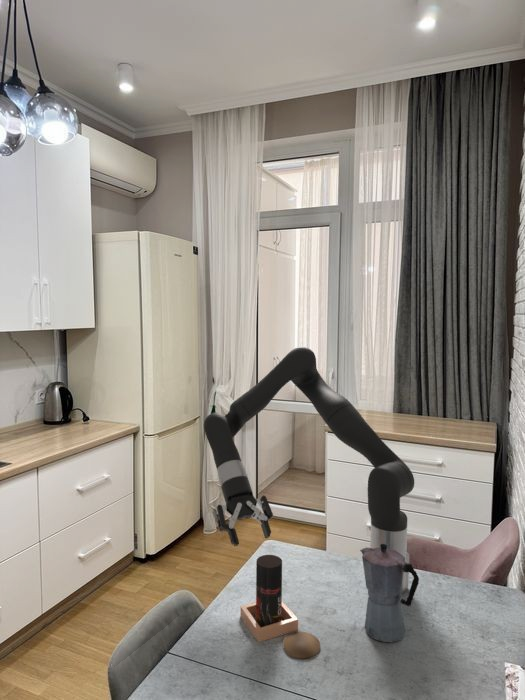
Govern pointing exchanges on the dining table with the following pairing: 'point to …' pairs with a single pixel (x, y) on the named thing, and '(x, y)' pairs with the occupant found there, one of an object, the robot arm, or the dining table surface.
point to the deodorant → (268, 590)
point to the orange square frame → (270, 630)
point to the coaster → (301, 645)
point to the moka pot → (386, 592)
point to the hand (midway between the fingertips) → (252, 541)
